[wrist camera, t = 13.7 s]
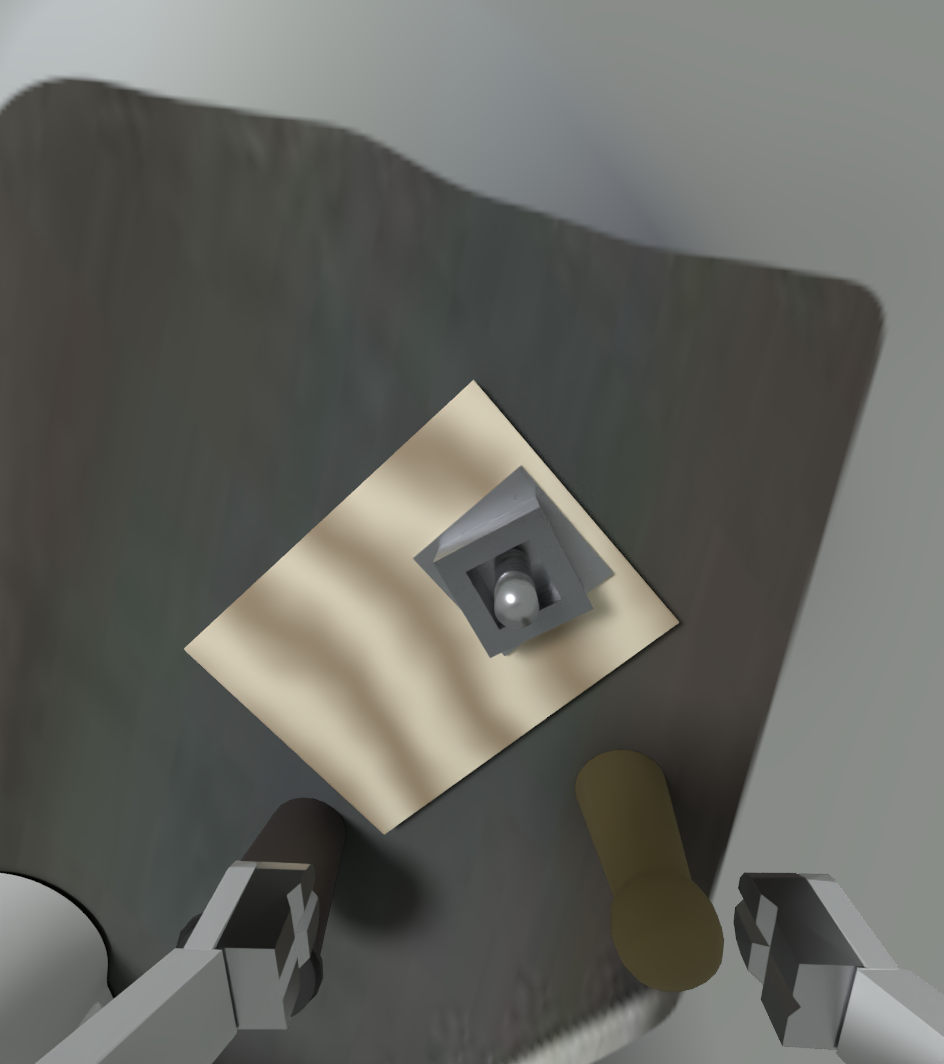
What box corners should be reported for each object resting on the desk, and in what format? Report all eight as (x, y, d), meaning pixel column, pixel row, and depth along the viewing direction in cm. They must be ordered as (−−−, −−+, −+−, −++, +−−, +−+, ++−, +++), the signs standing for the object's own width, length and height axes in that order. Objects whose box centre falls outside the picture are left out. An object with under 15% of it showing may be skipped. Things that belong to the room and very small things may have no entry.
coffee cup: (240, 784, 35) (142, 931, 25) (354, 777, 34) (298, 924, 25) (266, 877, 37) (184, 1046, 27) (373, 871, 36) (329, 1042, 27)
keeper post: (504, 653, 30) (506, 718, 24) (414, 556, 29) (391, 598, 23) (612, 570, 29) (643, 617, 22) (520, 464, 27) (527, 483, 21)
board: (387, 820, 35) (384, 834, 34) (194, 640, 32) (183, 649, 31) (672, 614, 30) (679, 622, 29) (474, 380, 27) (473, 380, 26)
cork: (657, 830, 34) (729, 1023, 24) (568, 820, 34) (600, 1007, 24) (674, 755, 33) (760, 925, 22) (581, 744, 33) (622, 909, 22)
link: (490, 632, 29) (490, 658, 27) (439, 546, 28) (433, 562, 25) (584, 587, 28) (593, 608, 26) (535, 495, 27) (539, 507, 24)
